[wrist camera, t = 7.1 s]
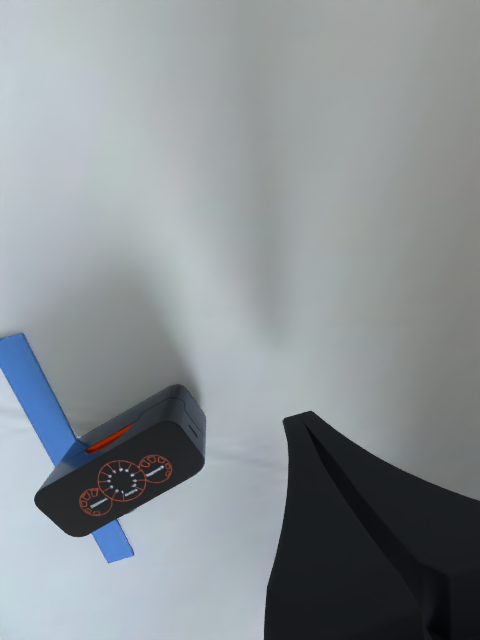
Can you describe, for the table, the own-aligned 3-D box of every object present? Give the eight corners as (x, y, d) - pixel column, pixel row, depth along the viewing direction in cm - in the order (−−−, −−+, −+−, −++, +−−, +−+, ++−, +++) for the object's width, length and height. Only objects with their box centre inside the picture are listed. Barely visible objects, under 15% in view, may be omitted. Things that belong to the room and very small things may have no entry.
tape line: (134, 553, 15) (133, 555, 15) (108, 561, 15) (108, 563, 15) (23, 332, 11) (21, 333, 11) (-12, 341, 11) (-14, 342, 11)
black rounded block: (58, 445, 13) (8, 507, 10) (181, 374, 12) (171, 414, 9) (116, 505, 14) (88, 577, 11) (229, 442, 14) (234, 497, 11)
